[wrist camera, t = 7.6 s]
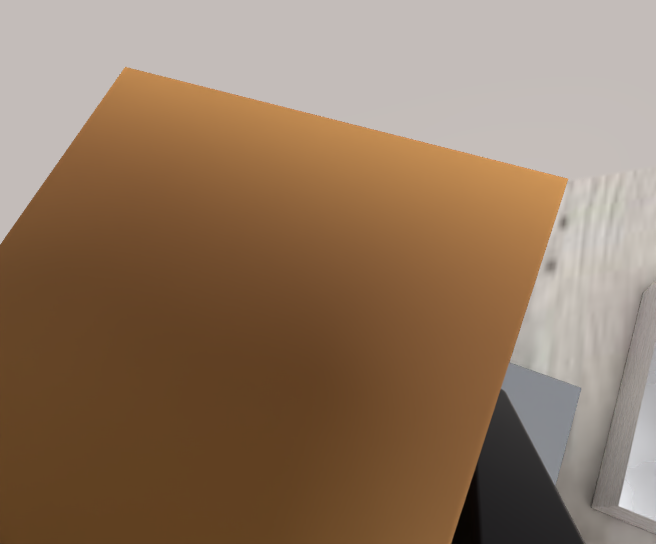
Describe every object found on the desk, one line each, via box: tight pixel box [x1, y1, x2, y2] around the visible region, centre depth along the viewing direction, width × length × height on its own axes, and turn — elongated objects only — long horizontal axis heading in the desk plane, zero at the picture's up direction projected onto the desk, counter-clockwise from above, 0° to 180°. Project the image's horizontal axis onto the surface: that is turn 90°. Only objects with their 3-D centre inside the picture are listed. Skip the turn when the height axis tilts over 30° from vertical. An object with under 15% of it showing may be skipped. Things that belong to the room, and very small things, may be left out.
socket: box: [501, 363, 581, 486], centre depth 20 cm, size 11×11×3 cm
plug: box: [0, 67, 568, 544], centre depth 9 cm, size 4×4×12 cm
